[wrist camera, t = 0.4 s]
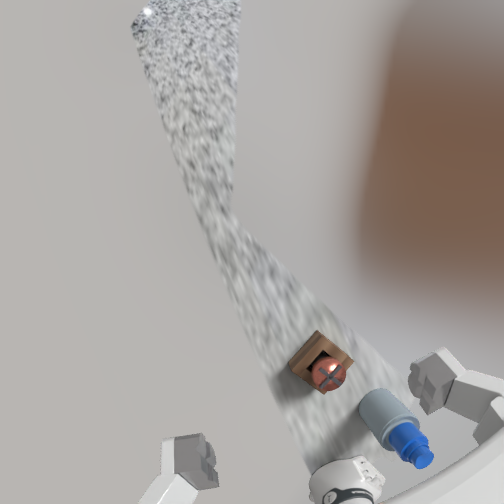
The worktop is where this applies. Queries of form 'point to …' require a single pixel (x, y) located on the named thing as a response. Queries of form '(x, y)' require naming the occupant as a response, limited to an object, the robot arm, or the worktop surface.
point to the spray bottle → (395, 427)
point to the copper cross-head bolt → (327, 372)
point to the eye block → (311, 351)
